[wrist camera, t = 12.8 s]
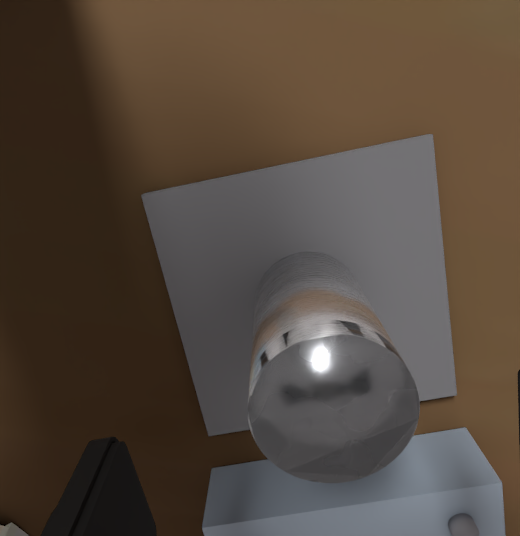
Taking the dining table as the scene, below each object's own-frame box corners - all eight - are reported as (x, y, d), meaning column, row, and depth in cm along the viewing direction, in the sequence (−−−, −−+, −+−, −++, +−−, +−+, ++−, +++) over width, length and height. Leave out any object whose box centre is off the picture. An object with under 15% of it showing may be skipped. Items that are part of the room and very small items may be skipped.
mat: (144, 193, 21) (140, 195, 21) (428, 134, 20) (432, 134, 20) (209, 429, 25) (208, 436, 24) (452, 388, 24) (456, 395, 23)
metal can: (245, 262, 22) (231, 351, 13) (352, 242, 21) (409, 319, 13) (266, 357, 23) (265, 494, 14) (366, 339, 23) (427, 469, 14)
